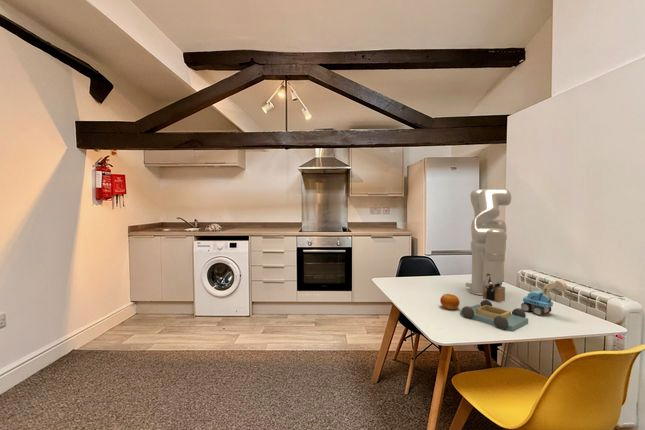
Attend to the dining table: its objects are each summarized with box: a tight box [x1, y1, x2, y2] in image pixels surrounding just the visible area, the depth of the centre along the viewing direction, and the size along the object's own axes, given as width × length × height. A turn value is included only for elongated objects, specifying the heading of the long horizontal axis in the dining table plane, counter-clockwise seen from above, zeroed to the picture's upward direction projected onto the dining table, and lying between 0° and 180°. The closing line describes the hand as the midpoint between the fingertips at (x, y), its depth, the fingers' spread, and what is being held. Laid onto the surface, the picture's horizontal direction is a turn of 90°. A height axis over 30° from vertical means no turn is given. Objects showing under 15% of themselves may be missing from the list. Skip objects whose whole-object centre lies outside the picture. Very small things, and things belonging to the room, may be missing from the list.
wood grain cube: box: [482, 285, 506, 304], centre depth 133 cm, size 7×5×6 cm
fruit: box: [440, 293, 460, 310], centre depth 148 cm, size 8×8×8 cm
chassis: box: [459, 299, 529, 332], centre depth 134 cm, size 22×18×5 cm
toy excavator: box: [520, 279, 568, 317], centre depth 140 cm, size 9×17×17 cm, turn 27°
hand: (493, 298), depth 133 cm, fingers closed on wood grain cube, 5 cm apart
